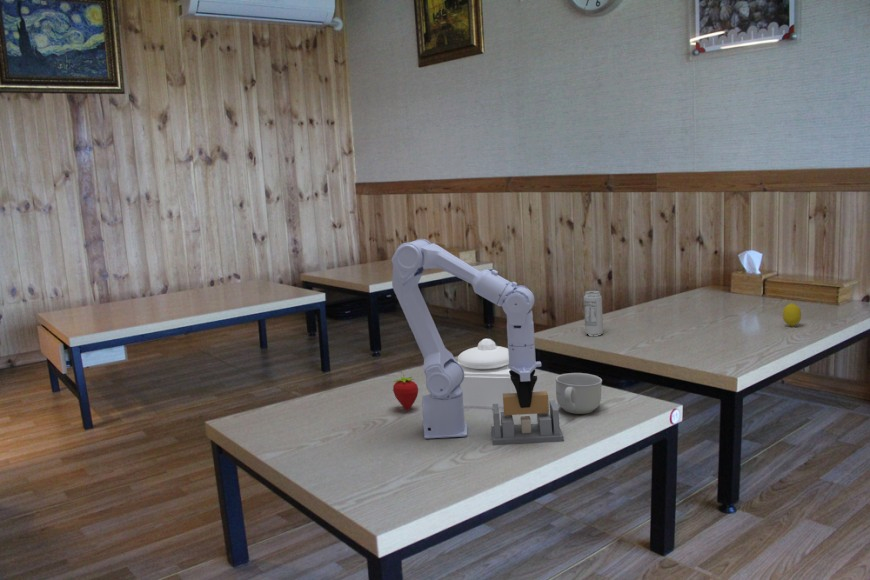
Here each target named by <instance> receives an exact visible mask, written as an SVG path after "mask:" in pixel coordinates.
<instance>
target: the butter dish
mask: <svg viewBox="0 0 870 580" xmlns="http://www.w3.org/2000/svg"><path fill="white" fill-rule="evenodd" d="M457 362H458V363H459V364H460V365H461V366H462V368H463V370H464V379H463V381H462V383H461V384H460V387H461V389H462V392H463V406H464V409H465V408H467V409H470V408H471V409H488V410H490V409H492V410H493V404H498V408H499V410H504V408H503V394H507V393H517V392H516V389H515V386H514V384H513V383H512V381H511V378H510V376H511V375H510V373H509V371H510V369H509V368H508V364H509V354H508V347H504V346H499V345H497V344H496V342H495V341H494V340H493V339H491V338H483V339H482V340H480V341H479V342H478V344H477V346H475V347H471V348H468V349H466V350H464V351H462V352H461V353H459V355H458V356H457Z"/></svg>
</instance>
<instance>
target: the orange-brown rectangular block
mask: <svg viewBox="0 0 870 580" xmlns="http://www.w3.org/2000/svg"><path fill="white" fill-rule="evenodd" d="M503 408H504V409H503V412H504V415H512V416H517V415H535V414H536V415H537V414H538V413H549V414H550V403H549V393H548V391H547V390H544V391H533V393H532V400H531V406H530V407H529V408H521V407H520V404H519V400H518V396H517V393H507V394H503Z"/></svg>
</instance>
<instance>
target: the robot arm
mask: <svg viewBox="0 0 870 580" xmlns="http://www.w3.org/2000/svg"><path fill="white" fill-rule="evenodd" d="M391 263H392V279H391V280H392V281H391V282H392V283H391V284H392V285H391V286H392V289H393V292H394V294H395V295H396V296H395V297H396V298H397V300H398V303H399V305H400V308H401V310H402V312H403V314H404V316H405V318H406V321H407V323H408V326H409V328H410V329H411V333H412V334H413V336H414V339H415V341H416V344H417V346H418V349H419V351H420V352H421V354H422V358H423V372H424V375H425V385H426V389H427V391H428V392H429V393H430V394H426V395H425V394H424V395H422V396H421V409H422V410H421V412H422V428H423V437H424V439H444V438H445V439H446V438H461V437H463V438H464V437H465V438H466V437H467V436H468V423H467V422H465V410H464V409H465V408H464V406H463V392H462V389H461V387H460V384H461V383H462V381H463V379H464V370H463V368H462V366H461V365H460V364H459V363H458V360H456V359H455V357H454V355H453V353H452V352H451V351H449V350H448V349H447V348H446V346H445V345H444V342H443V339H442V338H441V335H440V333H439V331H438V328H437V327H436V323H435V321H434V319H433V317H432V315H431V313H430V311H429V308H428V306H427V304H426V301H425V298H424V296H423V295H422V292H421V290H420V288H419V282H420V280H421V278H422V275H423V273H424V271H425V270H432V269H440V270H443V271H444V272H446V273H448V274H451V275H452V276H454V277H456V278H458V279H461V280H463V281H465V282H466V283H469V284H470V285H471V286H472V289H473V292H474V293H475V294H477V295H479V296H480V297H482V298H484V299H485V300H487V301H489V302H490V303H492V304H494V305H496V306H498V307H502V310H503V312H504V313H505V315H506V333H507V334H506V336H507V337H506V338H507V348H508V354H509V364H508V368H509V369H510V371H509V373H510V375H511V376H510V378H511V381H512V383H513V384H514V386H515V389H516V392H517V396H518V400H519V404H520V407H521V408H529V407H530V406H531V400H532V393H533V392H534V388H535V385H536V383H537V381H538V375H535V373H536V368H540V367H542V362H541V361H540V360H539V361H536V346H535V344H536V343H535V328H534V327H535V325H534V314H533V310H532V308H533V307H534V306H535V295H534V293H533V292H532V291H531V290H530V289H529V288H528V287H527V286H525V285H518V283H517V282H515V281H512V282H511V281H510V280H508V279H506V278H504V277H503V276H500V275H499V274H498V273H499V271H498V270H495V269H492V270H489V269H483V270H478V269H476V268H475V267H473V266H472V265H470V264H468V263H466V262H465V261H463V260H462V259H461V258H459V257H457V256H456V255H453V253H450V252H449V251H448V250H446V249H445V248H443V247H441V246H439V245H438V244H436V243H431V242H430V241H429V240H428V239H424V238H419V239H415V240H414V241H409V242H404V243H401V244H400V245H398V247H397V248H396V250H395V252H394V253H393V255H392V257H391Z"/></svg>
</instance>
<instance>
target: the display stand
mask: <svg viewBox="0 0 870 580" xmlns="http://www.w3.org/2000/svg"><path fill="white" fill-rule="evenodd" d="M548 403H549V413H538V414H536V422H537V423H531V422H532V421H531V417H530V416H531V415H524V416H523V415H522V416H520V424H514V418H513V415H504V411H500V409H499V408H498V404H493V409H492V418H493V419H492V420H493V425H491V426H490V430H491V440H492V445H493V446H498V445H514V444H515V445H516V444H533V443H550V442H554V443H555V442H564V440H565V438H564V434H563V431H562V428H561V427H560V410H559V407H558V404H557V403H556V400H554V399H553V400H548Z"/></svg>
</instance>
